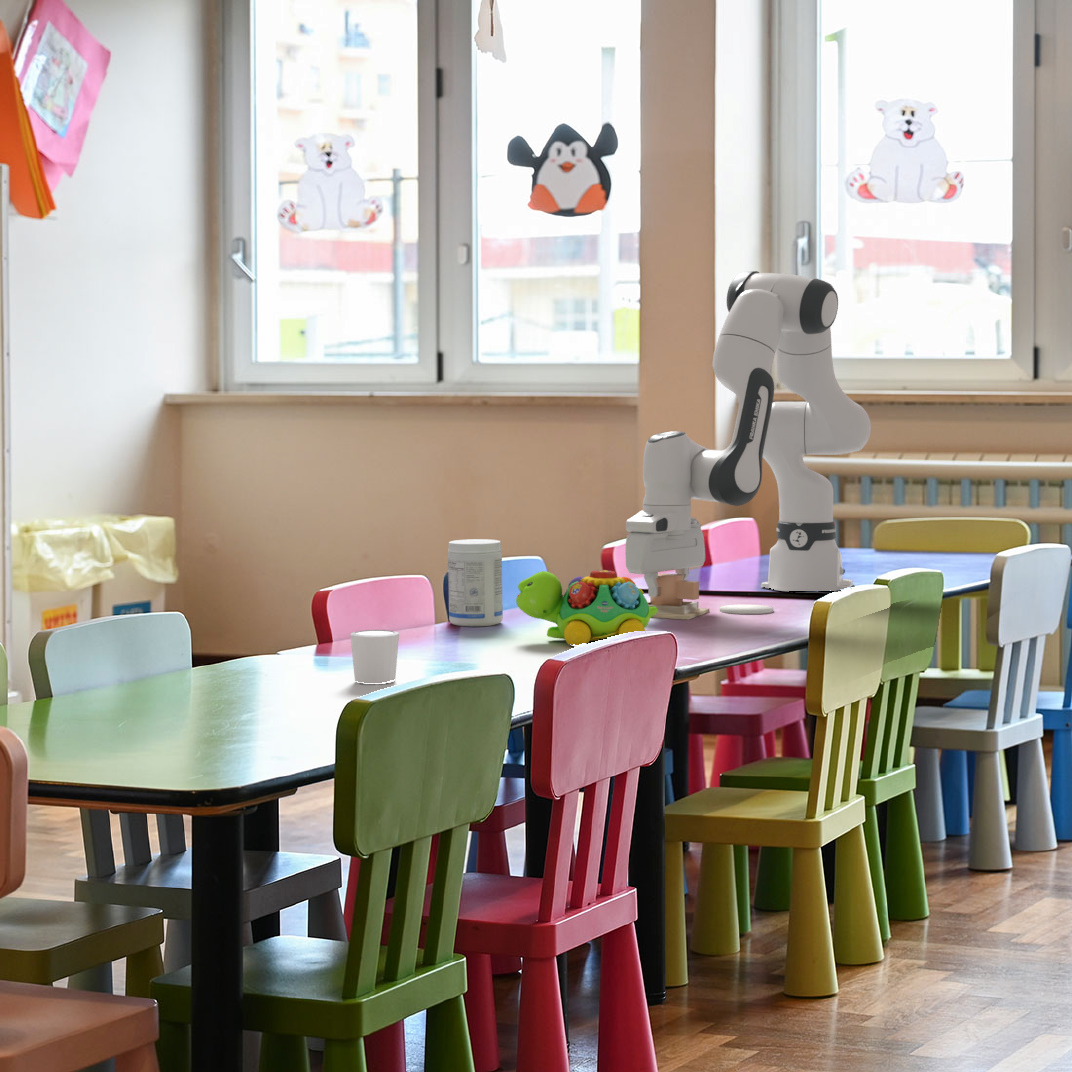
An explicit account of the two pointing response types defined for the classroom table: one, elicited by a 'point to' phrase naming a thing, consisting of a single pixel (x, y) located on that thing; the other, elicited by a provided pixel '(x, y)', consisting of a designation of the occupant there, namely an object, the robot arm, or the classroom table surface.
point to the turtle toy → (586, 605)
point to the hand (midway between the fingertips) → (666, 594)
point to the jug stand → (679, 610)
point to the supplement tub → (475, 582)
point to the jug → (675, 590)
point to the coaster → (746, 609)
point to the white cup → (374, 655)
